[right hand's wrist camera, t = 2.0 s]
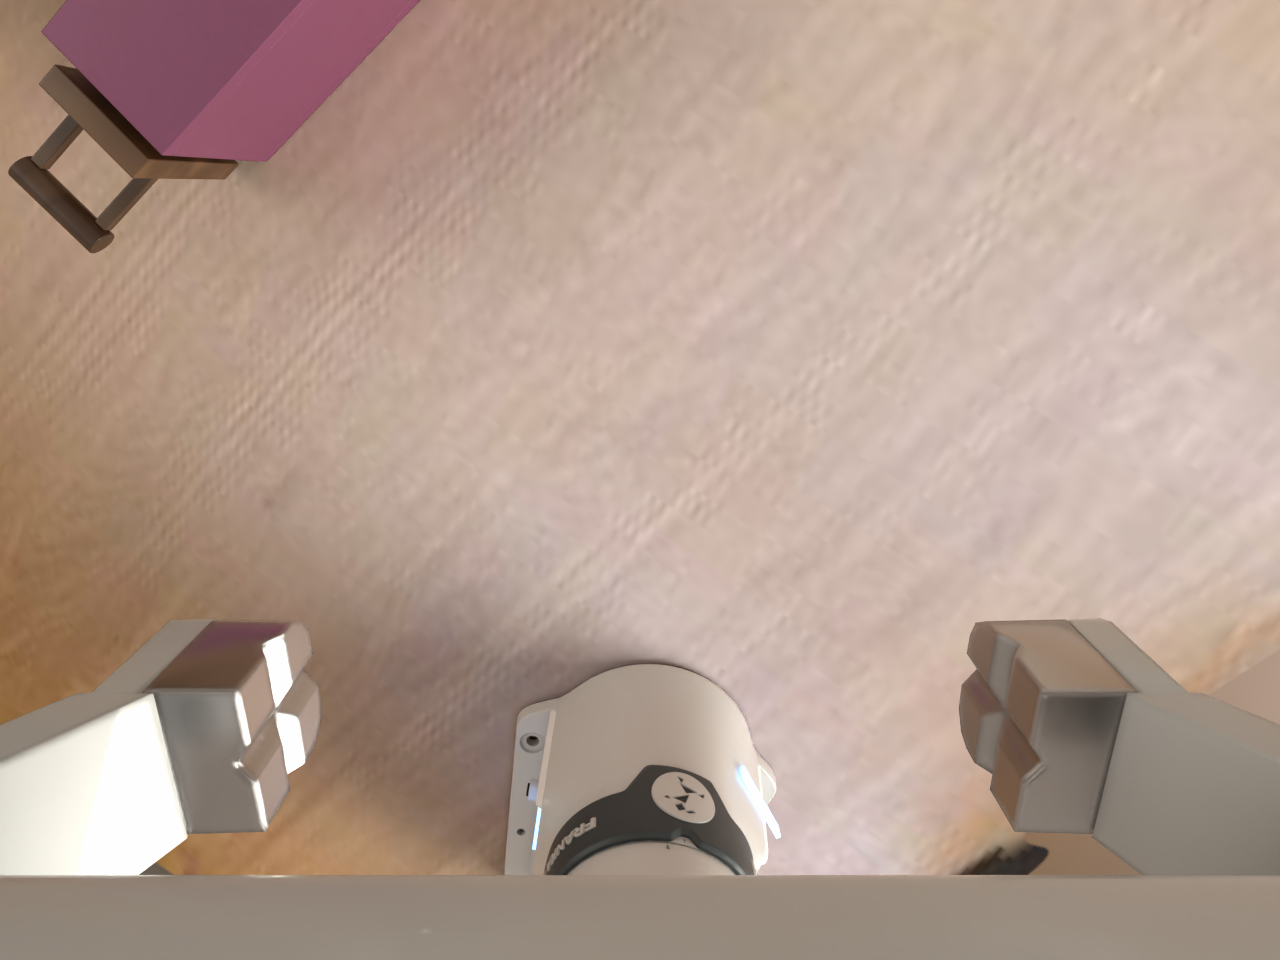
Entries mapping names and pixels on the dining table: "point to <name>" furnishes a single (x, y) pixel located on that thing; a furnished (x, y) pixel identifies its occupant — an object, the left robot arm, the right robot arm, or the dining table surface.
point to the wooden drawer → (117, 141)
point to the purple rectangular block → (220, 64)
